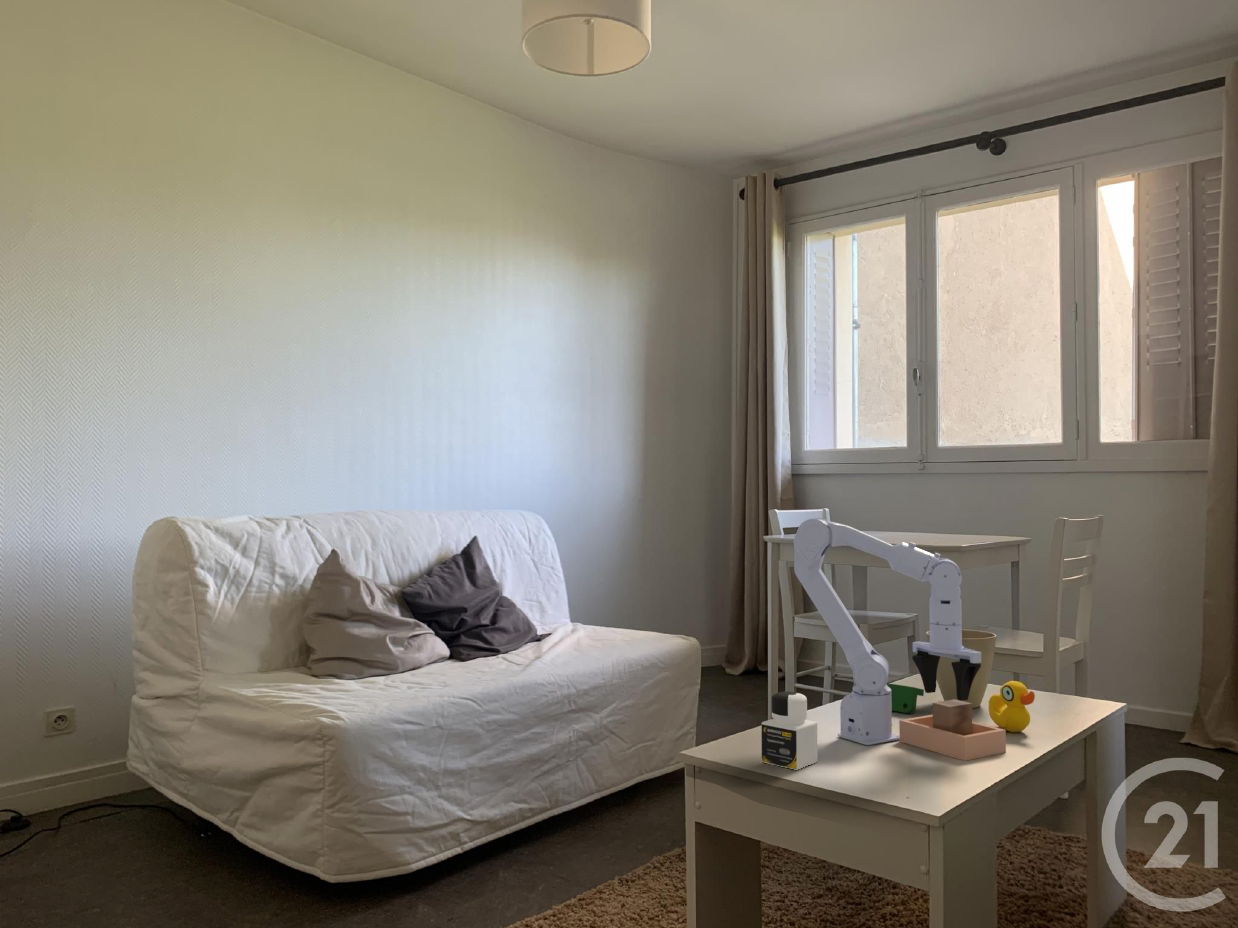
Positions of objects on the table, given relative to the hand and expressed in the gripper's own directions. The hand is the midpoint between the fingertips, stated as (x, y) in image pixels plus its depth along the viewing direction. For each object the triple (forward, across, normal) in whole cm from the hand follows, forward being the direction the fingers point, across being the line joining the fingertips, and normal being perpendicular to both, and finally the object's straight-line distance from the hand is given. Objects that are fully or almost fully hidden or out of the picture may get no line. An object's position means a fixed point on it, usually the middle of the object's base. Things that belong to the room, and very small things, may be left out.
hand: (946, 695), depth 172 cm
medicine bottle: (+9, +5, +34) cm, 36 cm away
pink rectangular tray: (+9, -2, +1) cm, 9 cm away
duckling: (+9, 0, -19) cm, 21 cm away
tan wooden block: (+8, -2, 0) cm, 8 cm away
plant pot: (+9, +22, -30) cm, 38 cm away
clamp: (+9, +26, -14) cm, 31 cm away
